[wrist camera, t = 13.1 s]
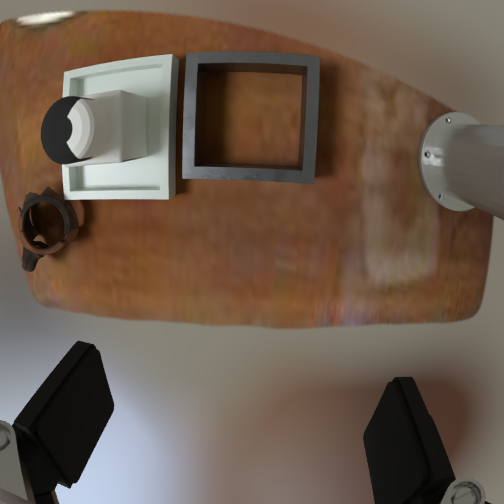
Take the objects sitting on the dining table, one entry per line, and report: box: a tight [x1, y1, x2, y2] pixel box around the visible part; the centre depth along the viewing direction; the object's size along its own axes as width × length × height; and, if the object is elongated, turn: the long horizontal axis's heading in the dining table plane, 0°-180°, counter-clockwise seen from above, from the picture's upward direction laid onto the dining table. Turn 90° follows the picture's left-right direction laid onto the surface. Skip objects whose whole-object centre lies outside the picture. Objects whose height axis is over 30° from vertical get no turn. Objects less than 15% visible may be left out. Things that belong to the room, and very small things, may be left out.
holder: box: [182, 52, 320, 184], centre depth 31 cm, size 13×13×4 cm
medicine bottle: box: [41, 90, 147, 167], centre depth 27 cm, size 7×7×12 cm
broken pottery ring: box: [15, 187, 79, 272], centre depth 36 cm, size 12×10×8 cm
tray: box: [62, 54, 179, 200], centre depth 32 cm, size 14×16×3 cm
